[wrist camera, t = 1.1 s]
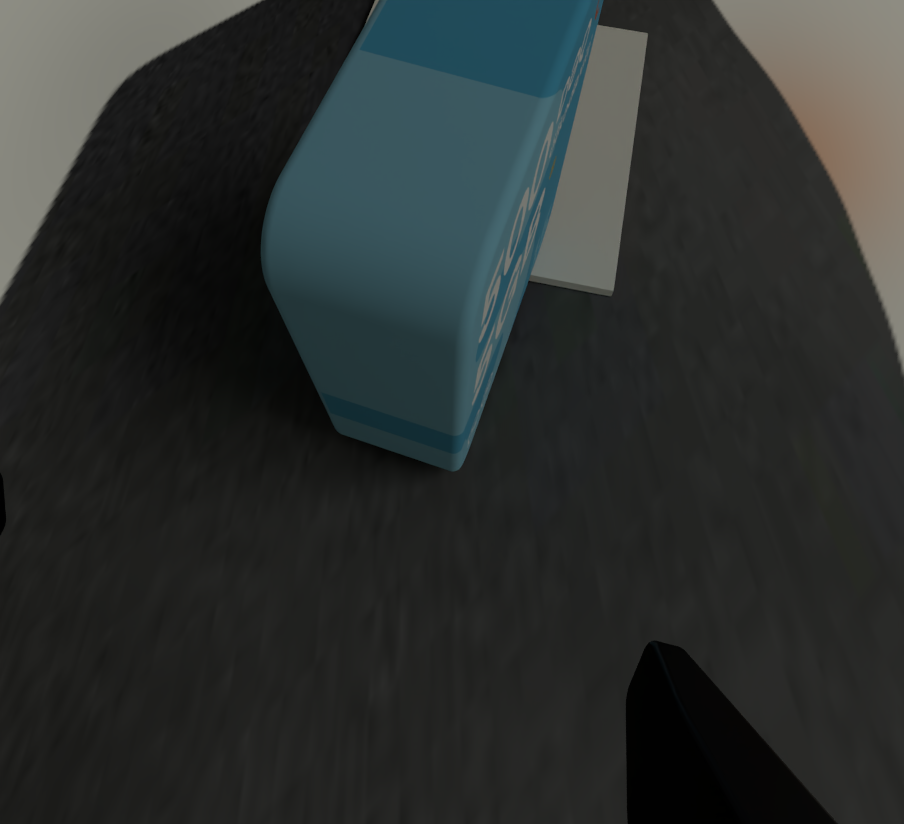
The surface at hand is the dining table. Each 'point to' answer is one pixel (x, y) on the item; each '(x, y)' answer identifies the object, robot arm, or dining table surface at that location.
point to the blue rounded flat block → (424, 211)
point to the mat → (595, 169)
